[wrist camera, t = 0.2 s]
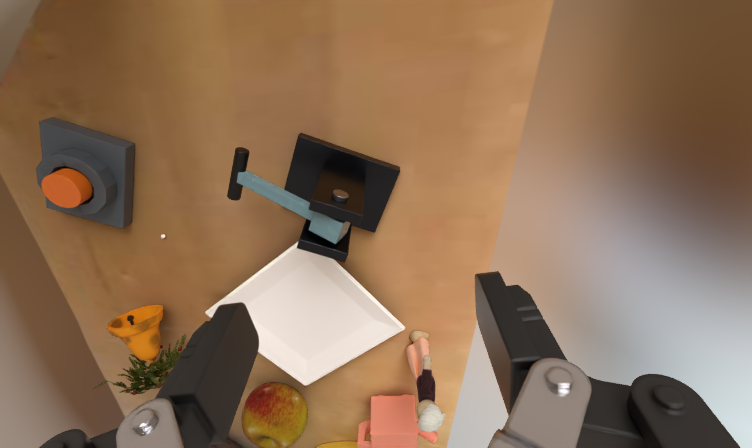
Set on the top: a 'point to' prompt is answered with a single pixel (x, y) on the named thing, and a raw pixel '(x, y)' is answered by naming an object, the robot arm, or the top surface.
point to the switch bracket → (338, 190)
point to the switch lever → (282, 199)
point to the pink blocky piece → (392, 424)
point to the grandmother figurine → (424, 382)
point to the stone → (225, 445)
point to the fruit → (274, 415)
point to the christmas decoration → (144, 345)
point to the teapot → (339, 445)
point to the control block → (91, 169)
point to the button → (67, 188)
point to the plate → (311, 314)
